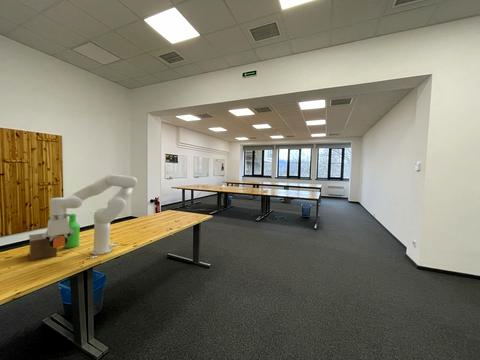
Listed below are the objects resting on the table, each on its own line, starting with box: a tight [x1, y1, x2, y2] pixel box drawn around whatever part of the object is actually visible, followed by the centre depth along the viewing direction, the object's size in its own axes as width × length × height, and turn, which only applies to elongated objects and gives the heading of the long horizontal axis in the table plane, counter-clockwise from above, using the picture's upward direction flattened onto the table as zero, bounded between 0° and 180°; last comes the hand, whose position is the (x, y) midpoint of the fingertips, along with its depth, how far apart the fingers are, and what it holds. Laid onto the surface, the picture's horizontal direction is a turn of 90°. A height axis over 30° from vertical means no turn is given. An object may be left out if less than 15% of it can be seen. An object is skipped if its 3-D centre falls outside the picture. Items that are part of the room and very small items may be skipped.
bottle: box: [63, 213, 81, 249], centre depth 149 cm, size 9×9×25 cm
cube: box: [53, 235, 65, 248], centre depth 124 cm, size 5×5×5 cm
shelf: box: [28, 232, 59, 262], centre depth 132 cm, size 13×16×13 cm
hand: (58, 244), depth 124 cm, fingers closed on cube, 5 cm apart
